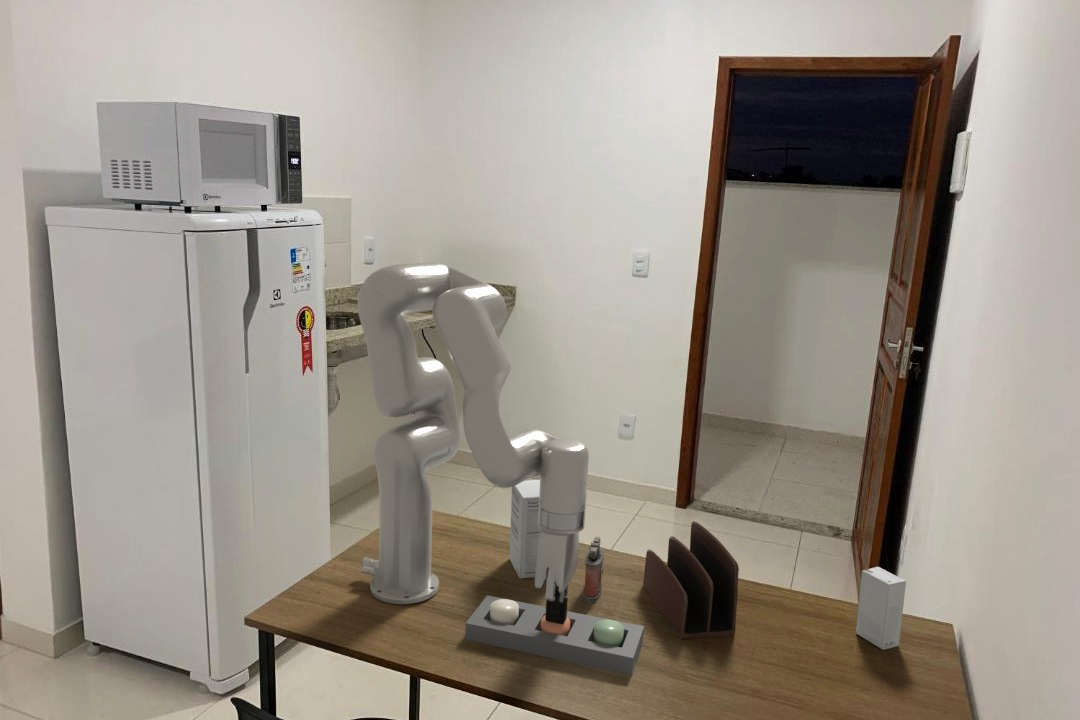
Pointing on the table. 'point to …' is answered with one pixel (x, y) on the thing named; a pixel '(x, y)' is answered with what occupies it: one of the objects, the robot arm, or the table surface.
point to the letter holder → (695, 585)
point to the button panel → (556, 638)
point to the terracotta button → (555, 627)
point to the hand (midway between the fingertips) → (555, 620)
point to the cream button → (504, 611)
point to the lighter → (593, 571)
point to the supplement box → (525, 527)
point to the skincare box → (880, 607)
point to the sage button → (608, 632)
